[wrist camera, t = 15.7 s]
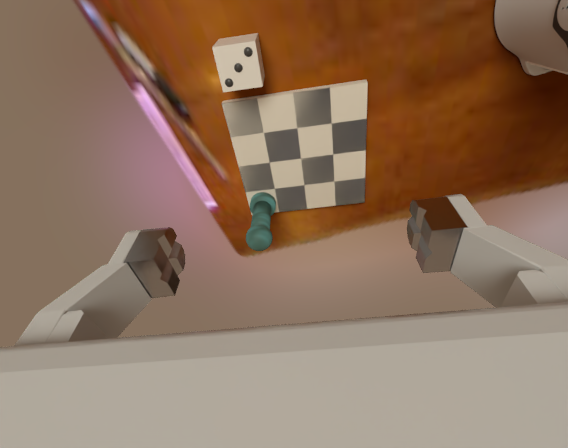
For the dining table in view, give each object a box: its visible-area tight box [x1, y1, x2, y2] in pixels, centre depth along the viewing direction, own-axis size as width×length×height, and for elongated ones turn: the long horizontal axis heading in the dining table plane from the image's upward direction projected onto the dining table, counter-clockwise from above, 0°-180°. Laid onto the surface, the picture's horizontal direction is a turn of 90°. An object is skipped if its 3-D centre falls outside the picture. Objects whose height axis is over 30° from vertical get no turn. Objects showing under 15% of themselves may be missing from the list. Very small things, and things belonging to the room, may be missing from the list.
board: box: [222, 80, 368, 215], centre depth 50 cm, size 20×20×1 cm
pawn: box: [246, 192, 276, 251], centre depth 50 cm, size 4×4×11 cm
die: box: [212, 33, 265, 92], centre depth 39 cm, size 5×5×5 cm
